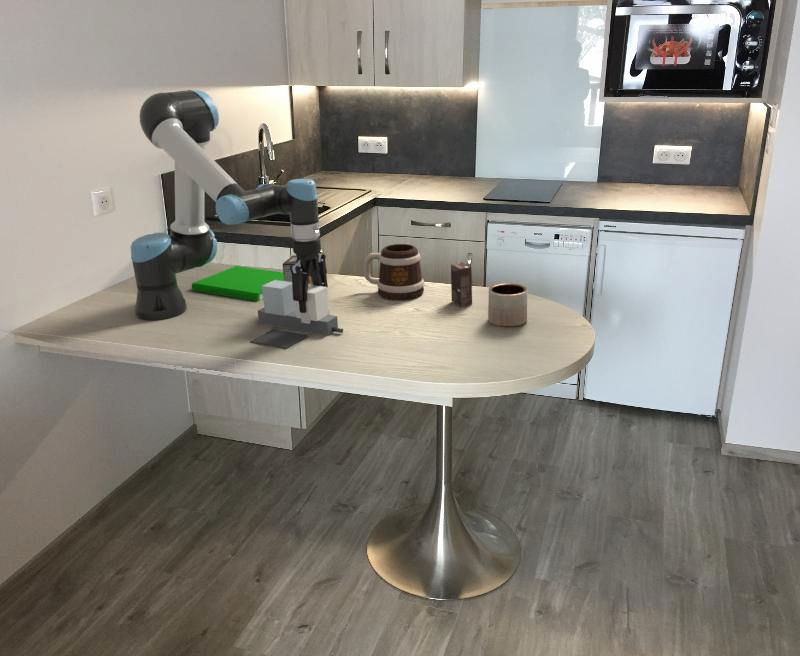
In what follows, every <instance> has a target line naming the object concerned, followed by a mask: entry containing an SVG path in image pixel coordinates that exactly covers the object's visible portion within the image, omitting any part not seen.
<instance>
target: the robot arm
mask: <svg viewBox="0 0 800 656" xmlns="http://www.w3.org/2000/svg"><path fill="white" fill-rule="evenodd" d="M219 115H220V114H219V110H218V106H217V104H216V103H215V101H214V100H213V98H212V96H210V95H209V94H208V93H207V92H205V91H203V90H199V89H197V90H196V89H195V90H193V89H191V90H190V89H187V90H179V91H169V92H156V93H154V94H152V95H150V96H149V97H147V98H146V99H145V100H144V102H143V103H142V105H141V108H140V110H139V123H140V127H141V130H142V132H143V133H144V135H145V137H146V139H148V141H149V142H150V143H151V144H152V145H154V147H155V148H157V149H162V150H163V151H164V152H165V153H166V154H167V155H168V156H169V157H170V158H171V159H172V160H173V161H174V203H175V204H174V212H175V214H174V215H175V219H174V221H173V222H172V223H171V224H170V226H169V227H170V229H169V230H170V235H169V234H168V233H166V232H154V233H149V234H145V235H142V236H140V237H137V238H136V239H134V240H133V241H132V243H131V244H130V259H131V261H132V268H133V273H134V277H135V283H136V288H137V293H136V298H135V299H136V302H135V306H134V312H135V316H136V318H138V319H140V320H146V321H147V320H149V321H154V320H155V321H156V320H157V321H158V320H165V319H170V318H174V317H177V316H180V315H181V314H183V313H185V312H186V311H187V309H188V307H187V301H186V299H185V298H184V295H183V293H182V291H181V290H180V288H179V285H178V281H177V274H180V273H183V272H186V271H190V270H192V269H196V268H201V267H204V266H205V265H207V264H208V265H209V263H211V262H212V261H213V260H214V259H215V258H216V255H217V252H218V240H217V238H215V237H216V236H215V233H214V232H213V231H212V229H210V226H209V224H207V223H206V221H205V196H206V195H205V193H206V194H207V195H208V196H209V197H210V198H211V199H212V200H213V201H214V202H215V212H216V213H215V214H217V216H218V219H219V220H220V222H221V223H223V224H225V225H227V226H228V225H229V226H233V225H239V224H244V223H246V222H251V221H252V220H256V219H261V218H264V217H268V216H269V217H270V216H272V215H278V214H281V215H289V221H290V234H291V238H292V241H291V244H292V252H293V254H294V255H297V260H296V264H295V265H294V266H293V265H291V266H290V270H291V274H292V291H293V300H294V301H298V302H299V310H300V314H301V323H307V324H310V323H311V319H310V307H309V301H308V300H307V293H308V282H309V277H310V276H311V279H312V282H313V285H316V286H323V287H327V288H328V287H329V286H328V277H327V269H326V267H327V266H326V255H325V253H324V254H321V253H320V252H321V251H322V244H321V238H320V236H321V234H320V233H321V232H320V223H319V219H320V218H319V207H318V192H317V186H316V182H315V181H314V180H313V179H310V178H296V179H295V178H294V179H291V180H289V181H288V182H287V183H286V185H280V184H273V183H267V184H266V183H264V184H263V183H262V184H259V185H258V186H257V187H256V188H255V189H249V190H245V189H243V187H242V186H240V185H239V184H238V183H237V182H236V180H234V179H233V177H231V176H230V175H229V174H228V173H227V172H226V171H225V170H224V169H223V167H221V165H219V164H218V163H217V162H216V161H215V160H214V158H212V157H211V156H210V155H209V154H208V153H207V152H206V150H205V148H206V147H205V146H207V144H208V143H210V142H211V141H210V140H211V132H214V130H216V128H217V127H218V125H219V123H220V116H219ZM302 272H303V273H302ZM305 273H306V274H305Z"/></svg>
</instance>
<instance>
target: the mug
mask: <svg viewBox="0 0 800 656" xmlns="http://www.w3.org/2000/svg"><path fill="white" fill-rule="evenodd" d="M421 258H422V257H421V254H420V252H419V250H418V248H417V247H416V246H415V245H412V244H406V243H397V244H396V243H395V244H389V245H386V246H384V247H383V248H382V249H381V251H380V252H371V253H369V254H368V255H366V257H365V259H364V261H363V265H362V266H363V267H362V268H363V270H362V271H363V275H364V279H365V280H366V281H368V283H370V284H372V285H376V286H377V293H378V295H379V296H380V297H382V298H383V299H387V300H393V301H405V300H406V301H407V300H412V299H416V298H419V297H420V296H421V295H423V294H424V292H425V289H424V288H425V287H424V285H425V281H424V278H423V276H422V270H421V269H422V268H421V261H420V260H421ZM373 260H379V273H378V274H379V276H378V278H375V277H372V275H371V273H370V272H371V271H370V263H371V262H372V261H373Z"/></svg>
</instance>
